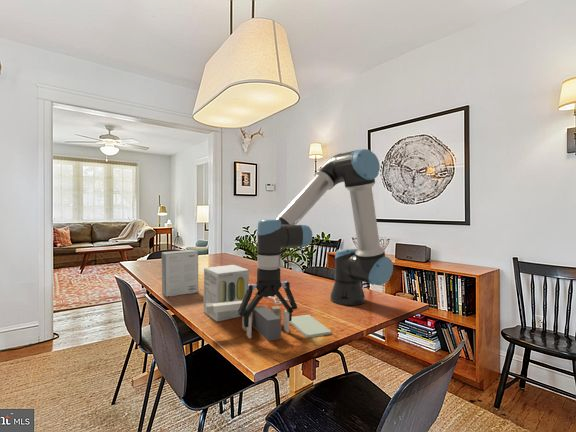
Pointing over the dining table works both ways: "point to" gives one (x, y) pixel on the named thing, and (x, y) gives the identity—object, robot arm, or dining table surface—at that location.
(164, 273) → the hard drive box
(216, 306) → the strap
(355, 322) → the dining table surface
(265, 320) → the dark gray rectangular block
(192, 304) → the dining table surface
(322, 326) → the mat
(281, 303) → the scissors
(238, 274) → the supplement box
